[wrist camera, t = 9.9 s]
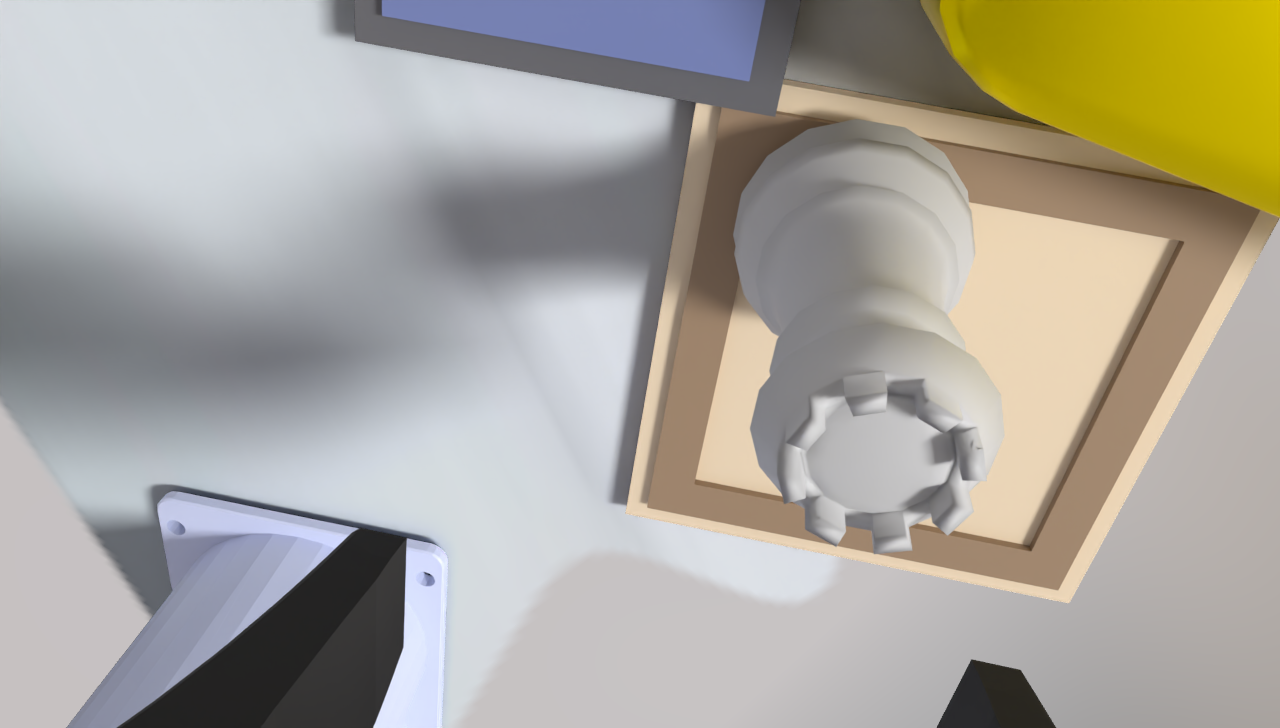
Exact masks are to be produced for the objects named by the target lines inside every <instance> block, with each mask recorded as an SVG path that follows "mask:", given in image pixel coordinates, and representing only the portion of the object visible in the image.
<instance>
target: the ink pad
mask: <svg viewBox="0 0 1280 728" xmlns="http://www.w3.org/2000/svg"><path fill="white" fill-rule="evenodd" d="M800 2H801V0H354V5H355V41H358V42H363V43H369V44H374V45H380V46H385V47H391V48H396V49H402V50H407V51H413V52H418V53H424V54H430V55H435V56H441V57H446V58H452V59H457V60H463V61H468V62H474V63H479V64H485V65H490V66H496V67H502V68H507V69H513V70H518V71H524V72H529V73H535V74H540V75H546V76H551V77H557V78H562V79H568V80H574V81H579V82H585V83H590V84H596V85H601V86H607V87H612V88H618V89H623V90H629V91H635V92H640V93H646V94H651V95H657V96H662V97H668V98H673V99H679V100H684V101H690V102H695V103H701V104H707V105H712V106H718V107H723V108H729V109H734V110H740V111H745V112H751V113H756V114H762V115H767V116H773V117H775V116H776V111H777V107H778V102H779V98H780V93H781V89H782V84H783V79H784V75H785V70H786V66H787V61H788V57H789V52H790V48H791V43H792V38H793V34H794V29H795V25H796V20H797V16H798V11H799V7H800Z"/></svg>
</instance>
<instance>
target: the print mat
mask: <svg viewBox="0 0 1280 728" xmlns="http://www.w3.org/2000/svg"><path fill="white" fill-rule="evenodd" d="M854 119H860V120H866V121H872V122H878V123H883V124H889V125H895V126H901V127H905V128H907V129H909V130H910V131H912V132H913V133H915V134H916V135H918V136H919V137H921V138H922V139H924V140H925V141H927V142H928V143H930V144H931V145H933V146H935V147H936V148H938V149H939V150H941V151H942V152H944V153H945V155H946V156H947V158H948V160H949V161H950V163H951V164H952V166H953V168H954V169H955V171H956V173H957V174H958V176H959V177H960V179H961V181H962V182H963V184H964V186H965V187H966V189H967V191H968V199H969V207H970V209H971V211H972V221H973V232H974V242H975V253H976V254H975V257H974V260H973V264H972V266H971V269H970V272H969V275H968V278H967V280H966V283H965V286H964V289H963V292H962V294H961V297H960V300H959V303H958V304H957V305H956V306H955V307H954V308H953V309H952V310H951V311H950V312H949V314H948V317H949V318H950V320H951V321H952V323H953V325H954V326H955V328H956V329H957V331H958V332H959V334H960V335H961V337H962V338H963V340H964V341H965V348H966V352H967V353H969V354H971V355H972V356H974V357H975V358H977V359H978V361H979V362H980V364H981V365H982V367H983V368H984V370H985V372H986V373H987V375H988V376H989V378H990V379H991V381H992V382H993V384H994V385H995V387H996V388H997V390H998V391H999V393H1000V394H1001V400H1002V412H1003V423H1004V434H1005V436H1004V439H1003V441H1002V443H1001V446H1000V448H999V450H998V453H997V455H996V457H995V460H994V462H993V464H992V467H991V469H990V472H989V474H988V475H987V476H986V477H987V481H980V482H979V483H978V484H977V485H976V486H975V487H974V488H973V489H972V490H971V491H970V492H969V494H970V498H971V502H972V506H973V510H974V512H973V513H972V514H971V515H970V516H969V517H968V518H967V519H966V520H964V521H963V522H962V523H961V524H960V525H959V526H958V527H957V528H956V529H955V530H954V531H952V532H951V533H950V534H949V535H948V536H947V535H946V534H945V533H944V532H943V531H941V530H940V529H939V528H938V527H937V526H936V525H935V524H933V523H932V517H931V518H929V519H926V520H924V521H922V522H919V523H917V524H915V525H912V526H910V527H909V531H910V537H911V544H912V550H913V551H903V552H892V553H882V554H874V552H873V543H872V533H871V531H869V530H864V529H859V528H854V527H849V526H846V532H845V534H844V536H843V537H842V539H841V540H840V542H839V543H838V545H837V547H835V546H834V545H832V544H830V543H828V542H826V541H825V540H823V539H821V538H819V537H817V536H816V535H814V534H812V533H810V532H809V531H807V530H805V509H804V508H802V507H801V506H799V505H797V504H795V503H794V502H790V503H787V504H784V501H783V497H782V494H781V493H780V491H779V490H778V489H777V488H776V486H775V485H774V484H773V483H772V481H771V480H770V479H769V478H768V477H767V475H766V474H765V473H764V472H763V470H762V469H761V468H760V467H759V464H758V460H757V456H756V452H755V448H754V444H753V440H752V436H751V432H750V426H751V421H752V417H753V413H754V409H755V405H756V401H757V397H758V392H759V389H760V388H761V387H762V386H763V384H764V383H765V382H766V381H767V379H768V378H769V377H770V372H769V370H770V366H771V362H772V358H773V354H774V350H775V345H776V341H777V339H778V337H779V336H777V335H775V334H774V333H772V332H771V331H770V330H769V328H768V327H767V326H766V324H765V323H764V322H763V320H762V319H761V318H760V316H759V315H758V314H757V312H756V311H755V310H754V308H753V307H752V306H751V305H750V303H749V302H748V300H747V299H746V297H745V295H744V294H743V290H742V285H741V281H740V277H739V272H738V268H737V264H736V259H735V255H734V252H735V247H736V246H735V241H734V237H733V233H734V228H735V223H736V218H737V213H738V208H739V203H740V198H741V193H742V192H743V190H744V189H745V187H746V186H747V184H748V183H749V182H750V180H751V179H752V177H753V176H754V174H755V173H756V171H757V170H758V169H759V167H760V166H761V164H762V163H763V161H764V160H765V158H766V157H767V156H768V155H769V154H771V153H772V152H774V151H775V150H777V149H778V148H780V147H781V146H783V145H784V144H786V143H788V142H789V141H791V140H792V139H794V138H795V137H797V136H798V135H800V134H801V133H803V132H804V131H806V130H807V129H811V128H816V127H821V126H825V125H830V124H835V123H839V122H844V121H849V120H854ZM1278 220H1279V217H1276V216H1274V215H1271V214H1269V213H1266V212H1264V211H1261V210H1259V209H1256V208H1254V207H1251V206H1249V205H1246V204H1244V203H1242V202H1239V201H1237V200H1234V199H1232V198H1229V197H1227V196H1224V195H1222V194H1219V193H1217V192H1214V191H1212V190H1209V189H1207V188H1204V187H1202V186H1199V185H1197V184H1194V183H1192V182H1189V181H1187V180H1184V179H1182V178H1179V177H1177V176H1174V175H1172V174H1169V173H1167V172H1164V171H1162V170H1159V169H1157V168H1154V167H1152V166H1149V165H1147V164H1145V163H1142V162H1140V161H1137V160H1135V159H1132V158H1130V157H1127V156H1125V155H1122V154H1120V153H1117V152H1115V151H1112V150H1110V149H1107V148H1105V147H1102V146H1100V145H1097V144H1095V143H1092V142H1090V141H1087V140H1085V139H1082V138H1080V137H1077V136H1075V135H1072V134H1070V133H1067V132H1065V131H1062V130H1060V129H1057V128H1055V127H1050V126H1045V125H1039V124H1033V123H1028V122H1022V121H1017V120H1011V119H1005V118H1000V117H994V116H989V115H983V114H977V113H972V112H966V111H961V110H955V109H949V108H944V107H938V106H933V105H927V104H921V103H916V102H910V101H905V100H899V99H893V98H888V97H882V96H877V95H871V94H865V93H860V92H854V91H849V90H843V89H837V88H832V87H826V86H821V85H815V84H809V83H804V82H798V81H793V80H787V79H783V84H782V89H781V93H780V98H779V102H778V107H777V111H776V116H775V117H773V116H767V115H762V114H756V113H751V112H745V111H740V110H734V109H729V108H723V107H718V106H712V105H707V104H701V103H696V106H695V112H694V118H693V123H692V129H691V135H690V141H689V147H688V152H687V158H686V164H685V170H684V176H683V182H682V187H681V193H680V199H679V205H678V211H677V217H676V222H675V228H674V234H673V240H672V246H671V251H670V257H669V263H668V269H667V275H666V281H665V286H664V292H663V298H662V304H661V310H660V315H659V321H658V327H657V333H656V339H655V345H654V350H653V356H652V362H651V368H650V374H649V380H648V385H647V391H646V397H645V403H644V409H643V414H642V420H641V426H640V432H639V438H638V444H637V449H636V455H635V461H634V467H633V473H632V478H631V484H630V490H629V496H628V502H627V508H626V513H625V514H629V515H634V516H639V517H644V518H649V519H654V520H659V521H664V522H669V523H674V524H679V525H684V526H689V527H694V528H699V529H704V530H709V531H713V532H718V533H723V534H728V535H733V536H738V537H743V538H748V539H753V540H758V541H763V542H768V543H773V544H778V545H783V546H788V547H793V548H798V549H803V550H808V551H813V552H818V553H823V554H827V555H832V556H837V557H842V558H848V559H852V560H857V561H863V562H867V563H872V564H877V565H882V566H887V567H892V568H897V569H902V570H907V571H912V572H917V573H922V574H927V575H932V576H937V577H942V578H946V579H951V580H956V581H961V582H966V583H971V584H976V585H982V586H986V587H991V588H996V589H1001V590H1006V591H1011V592H1016V593H1021V594H1026V595H1031V596H1036V597H1041V598H1046V599H1051V600H1056V601H1060V602H1065V603H1070V601H1071V599H1072V597H1073V595H1074V593H1075V592H1076V590H1077V588H1078V586H1079V584H1080V582H1081V581H1082V579H1083V577H1084V575H1085V573H1086V571H1087V570H1088V568H1089V566H1090V564H1091V562H1092V560H1093V559H1094V557H1095V555H1096V553H1097V551H1098V549H1099V548H1100V546H1101V544H1102V542H1103V540H1104V538H1105V537H1106V535H1107V533H1108V531H1109V529H1110V528H1111V526H1112V524H1113V522H1114V520H1115V518H1116V516H1117V514H1118V513H1119V511H1120V509H1121V507H1122V505H1123V504H1124V502H1125V500H1126V498H1127V496H1128V495H1129V493H1130V491H1131V489H1132V487H1133V485H1134V484H1135V482H1136V480H1137V478H1138V476H1139V474H1140V473H1141V471H1142V469H1143V467H1144V465H1145V463H1146V462H1147V460H1148V458H1149V456H1150V454H1151V452H1152V451H1153V449H1154V447H1155V445H1156V443H1157V441H1158V440H1159V438H1160V436H1161V434H1162V432H1163V431H1164V428H1165V427H1166V425H1167V423H1168V421H1169V419H1170V417H1171V416H1172V414H1173V412H1174V410H1175V408H1176V407H1177V405H1178V403H1179V401H1180V399H1181V398H1182V396H1183V394H1184V392H1185V390H1186V388H1187V387H1188V385H1189V383H1190V381H1191V379H1192V377H1193V376H1194V374H1195V372H1196V370H1197V368H1198V366H1199V365H1200V363H1201V361H1202V359H1203V357H1204V355H1205V354H1206V352H1207V350H1208V348H1209V346H1210V344H1211V343H1212V341H1213V339H1214V337H1215V335H1216V334H1217V332H1218V330H1219V328H1220V326H1221V324H1222V323H1223V320H1224V319H1225V317H1226V315H1227V313H1228V312H1229V310H1230V308H1231V306H1232V304H1233V302H1234V301H1235V299H1236V297H1237V295H1238V293H1239V291H1240V290H1241V288H1242V286H1243V284H1244V282H1245V280H1246V278H1247V277H1248V275H1249V273H1250V271H1251V269H1252V267H1253V266H1254V264H1255V262H1256V260H1257V258H1258V257H1259V255H1260V253H1261V251H1262V249H1263V248H1264V246H1265V244H1266V242H1267V240H1268V238H1269V236H1270V235H1271V233H1272V231H1273V229H1274V227H1275V226H1276V224H1277V222H1278Z"/></svg>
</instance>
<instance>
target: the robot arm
mask: <svg viewBox="0 0 1280 728" xmlns="http://www.w3.org/2000/svg"><path fill="white" fill-rule="evenodd" d="M157 512H158V517H159V523H160V528H161V533H162V539H163V544H164V550H165V555H166V561H167V566H168V571H169V577H170V582H171V588H172V592H171V594H170V595H169V596H168V598H167V599H166V600H165V601H164V603H163V604H162V605H161V607H160V608H159V609H158V610H157V612H156V613H155V614H154V616H153V617H152V618H151V619H150V621H149V622H148V623H147V625H146V626H145V627H144V628H143V630H142V631H141V632H140V634H139V635H138V636H137V637H136V639H135V640H134V641H133V643H132V644H131V645H130V647H129V648H128V649H127V650H126V652H125V653H124V654H123V655H122V657H121V658H120V659H119V661H118V662H117V663H116V664H115V666H114V667H113V668H112V670H111V671H110V672H109V673H108V675H107V676H106V677H105V679H104V680H103V681H102V682H101V684H100V685H99V686H98V688H97V689H96V690H95V692H94V693H93V694H92V695H91V697H90V698H89V699H88V700H87V702H86V703H85V704H84V706H83V707H82V708H81V709H80V711H79V712H78V713H77V715H76V716H75V717H74V719H73V720H72V721H71V722H70V724H69V725H68V726H67V727H66V728H442V705H443V679H444V653H445V627H446V601H447V574H448V558H447V555H446V553H445V552H444V551H443V549H441V548H440V547H438V546H437V545H434V544H431V543H427V542H422V541H417V540H412V539H407V538H405V537H401V536H396V535H391V534H387V533H382V532H377V531H373V530H368V529H363V528H359V529H358V528H354V527H349V526H344V525H339V524H334V523H329V522H324V521H319V520H315V519H310V518H305V517H300V516H295V515H290V514H285V513H280V512H276V511H271V510H266V509H261V508H256V507H251V506H246V505H242V504H237V503H232V502H227V501H222V500H217V499H212V498H207V497H203V496H198V495H193V494H188V493H183V492H176V491H171V492H169V493H166V495H165V496H164V497H163V498H162V499H161V500H160V501H159V503H158V504H157ZM424 572H426V573H429V574H431V575H432V576H429V575H427V574H425V573H424ZM937 728H1056V727H1055V725H1054V724H1053V722H1052V720H1051V719H1050V717H1049V715H1048V714H1047V712H1046V710H1045V709H1044V707H1043V705H1042V704H1041V702H1040V701H1039V699H1038V697H1037V696H1036V694H1035V692H1034V691H1033V689H1032V688H1031V686H1030V685H1029V683H1028V682H1027V680H1026V678H1025V676H1024V675H1023V673H1022V672H1021V670H1018V669H1013V668H1009V667H1004V666H1000V665H995V664H990V663H985V662H981V661H976V660H971V661H970V664H969V665H968V667H967V669H966V671H965V673H964V675H963V677H962V679H961V681H960V683H959V685H958V687H957V689H956V691H955V693H954V695H953V697H952V699H951V700H950V703H949V704H948V707H947V709H946V710H945V712H944V714H943V716H942V718H941V720H940V722H939V724H938V726H937Z"/></svg>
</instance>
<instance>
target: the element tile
mask: <svg viewBox="0 0 1280 728" xmlns="http://www.w3.org/2000/svg"><path fill="white" fill-rule="evenodd" d="M920 2H921V5H922V8H923V9H924V11H925V13H926V15H927V16H928V18H929V20H930V21H931V23H932V25H933V27H934V28H935V30H936V32H937V33H938V35H939V37H940V39H941V40H942V42H943V44H944V46H945V47H946V49H947V51H948V52H949V54H950V55H951V56H952V58H953V59H954V60H955V61H956V62H957V63H958V64H959V65H960V66H961V68H962V69H963V70H964V71H965V72H966V73H967V74H968V75H969V76H970V78H971V79H972V80H973V81H974V82H975V83H976V84H977V85H978V87H979V88H980V89H981V90H982V91H983V92H985V93H987V94H988V95H990V96H991V97H993V98H995V99H996V100H998V101H999V102H1001V103H1002V104H1004V105H1006V106H1007V107H1009V108H1010V109H1012V110H1013V111H1015V112H1018V113H1020V114H1023V115H1025V116H1028V117H1030V118H1033V119H1035V120H1038V121H1040V122H1043V123H1045V124H1048V125H1050V126H1053V127H1055V128H1057V129H1060V130H1062V131H1065V132H1067V133H1070V134H1072V135H1075V136H1077V137H1080V138H1082V139H1085V140H1087V141H1090V142H1092V143H1095V144H1097V145H1100V146H1102V147H1105V148H1107V149H1110V150H1112V151H1115V152H1117V153H1120V154H1122V155H1125V156H1127V157H1130V158H1132V159H1135V160H1137V161H1140V162H1142V163H1145V164H1147V165H1149V166H1152V167H1154V168H1157V169H1159V170H1162V171H1164V172H1167V173H1169V174H1172V175H1174V176H1177V177H1179V178H1182V179H1184V180H1187V181H1189V182H1192V183H1194V184H1197V185H1199V186H1202V187H1204V188H1207V189H1209V190H1212V191H1214V192H1217V193H1219V194H1222V195H1224V196H1227V197H1229V198H1232V199H1234V200H1237V201H1239V202H1242V203H1244V204H1246V205H1249V206H1251V207H1254V208H1256V209H1259V210H1261V211H1264V212H1266V213H1269V214H1271V215H1274V216H1276V217H1279V218H1280V0H920Z"/></svg>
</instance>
